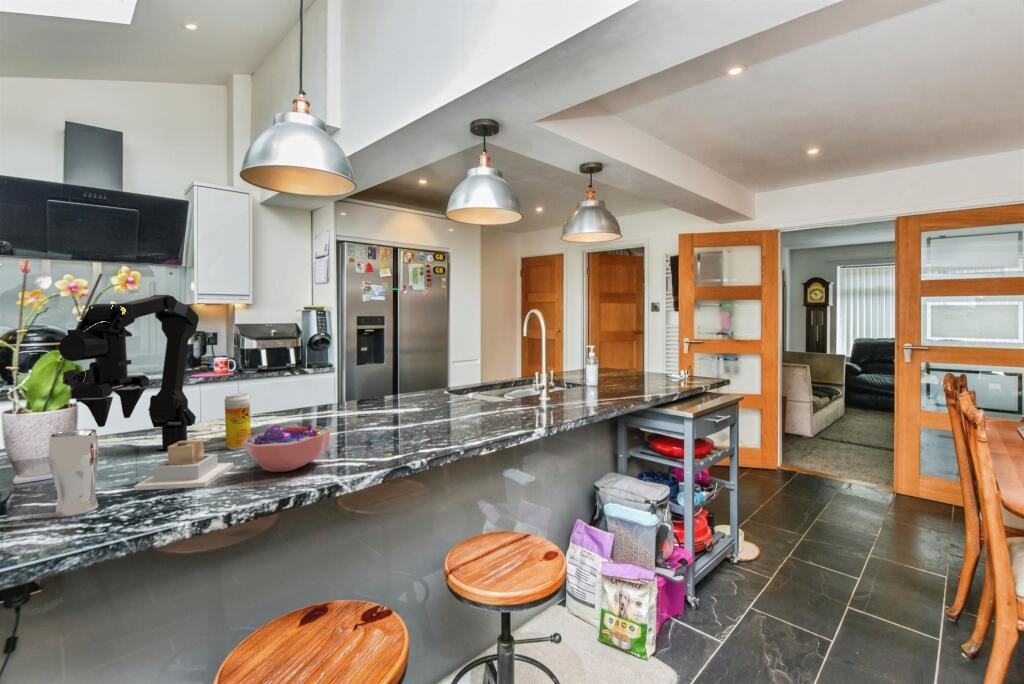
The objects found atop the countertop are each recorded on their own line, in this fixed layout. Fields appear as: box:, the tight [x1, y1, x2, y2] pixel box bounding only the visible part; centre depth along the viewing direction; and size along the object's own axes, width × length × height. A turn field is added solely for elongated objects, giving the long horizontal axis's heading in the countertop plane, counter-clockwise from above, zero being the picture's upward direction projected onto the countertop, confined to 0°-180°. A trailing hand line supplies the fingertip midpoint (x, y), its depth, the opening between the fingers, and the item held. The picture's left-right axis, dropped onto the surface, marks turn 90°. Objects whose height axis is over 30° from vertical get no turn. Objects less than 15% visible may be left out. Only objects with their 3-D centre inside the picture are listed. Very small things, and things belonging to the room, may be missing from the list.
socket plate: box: [133, 453, 235, 491], centre depth 109 cm, size 14×14×4 cm
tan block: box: [167, 439, 205, 465], centre depth 109 cm, size 5×5×7 cm
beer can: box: [224, 392, 252, 451], centre depth 134 cm, size 6×6×15 cm
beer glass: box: [48, 428, 100, 518], centre depth 90 cm, size 7×7×15 cm
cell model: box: [242, 424, 331, 473], centre depth 116 cm, size 17×20×11 cm
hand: (114, 422), depth 113 cm, fingers open, 9 cm apart
